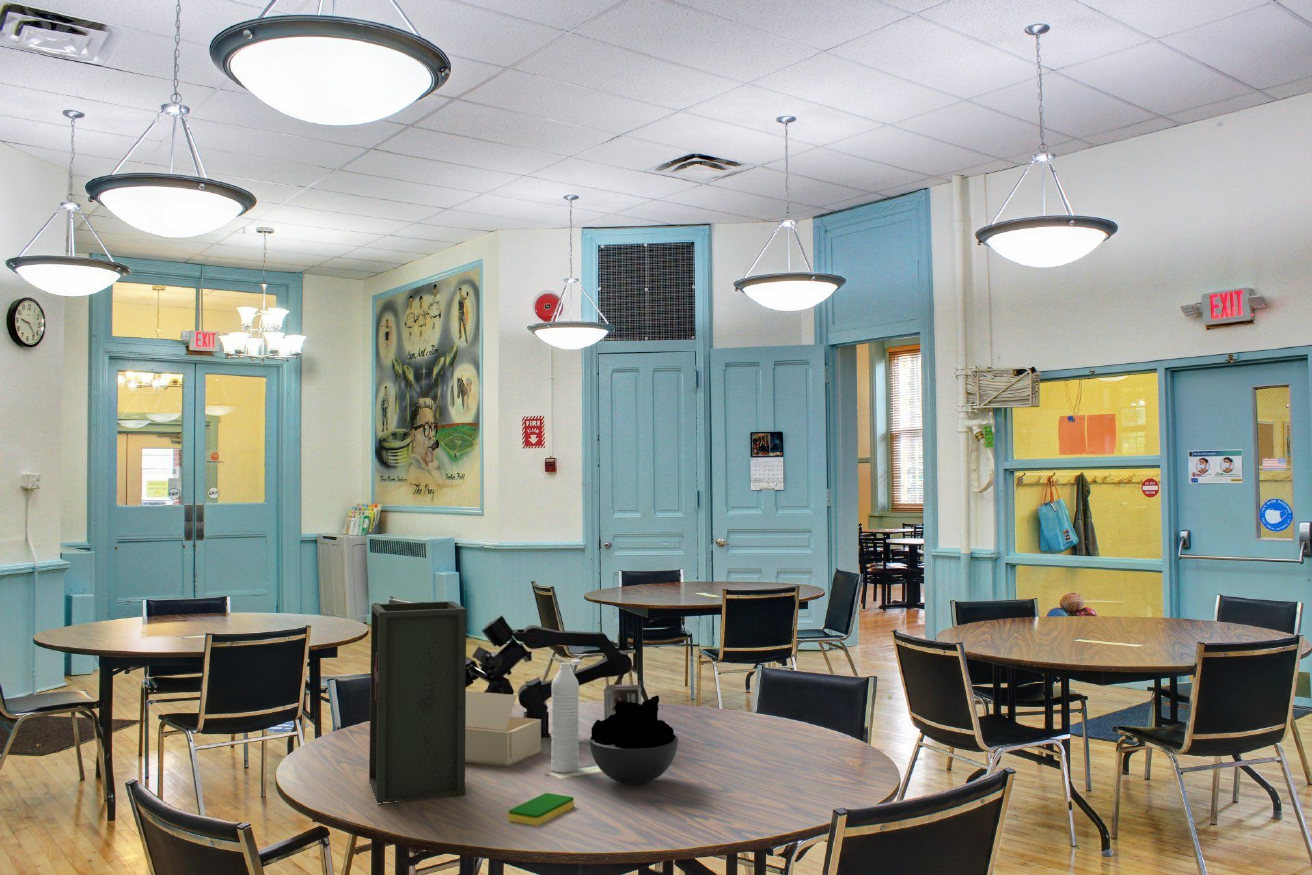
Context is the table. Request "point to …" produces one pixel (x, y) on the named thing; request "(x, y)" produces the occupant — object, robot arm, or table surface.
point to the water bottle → (565, 720)
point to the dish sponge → (541, 809)
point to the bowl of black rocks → (633, 743)
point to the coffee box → (620, 696)
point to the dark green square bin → (417, 701)
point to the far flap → (488, 710)
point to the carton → (503, 742)
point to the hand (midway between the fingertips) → (462, 699)
